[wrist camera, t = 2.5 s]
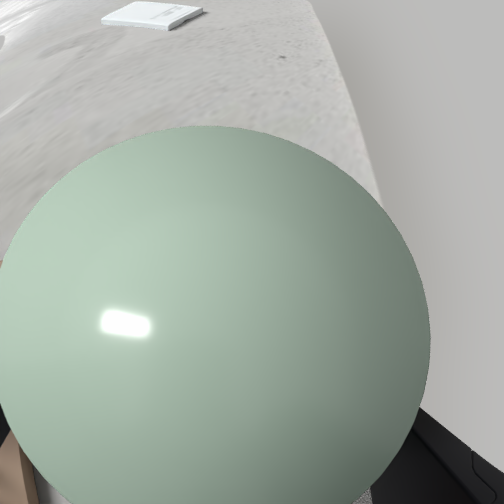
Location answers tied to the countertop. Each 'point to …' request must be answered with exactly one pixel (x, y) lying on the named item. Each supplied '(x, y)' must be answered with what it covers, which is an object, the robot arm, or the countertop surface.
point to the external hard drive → (151, 15)
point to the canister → (210, 326)
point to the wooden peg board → (16, 473)
